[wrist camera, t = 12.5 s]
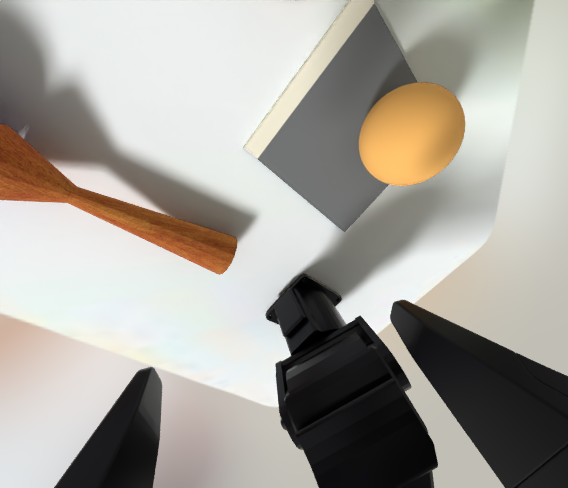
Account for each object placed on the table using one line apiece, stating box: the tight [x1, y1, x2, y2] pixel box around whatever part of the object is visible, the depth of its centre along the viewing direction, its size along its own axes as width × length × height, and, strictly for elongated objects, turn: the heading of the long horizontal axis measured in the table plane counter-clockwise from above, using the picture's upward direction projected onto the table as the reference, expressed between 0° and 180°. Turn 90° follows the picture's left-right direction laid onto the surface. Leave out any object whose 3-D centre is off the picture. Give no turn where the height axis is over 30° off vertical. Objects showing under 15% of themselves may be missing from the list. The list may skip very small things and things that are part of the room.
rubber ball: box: [359, 82, 465, 186], centre depth 16 cm, size 6×6×6 cm
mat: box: [244, 0, 417, 232], centre depth 19 cm, size 12×12×1 cm
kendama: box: [0, 124, 237, 274], centre depth 14 cm, size 6×6×20 cm
